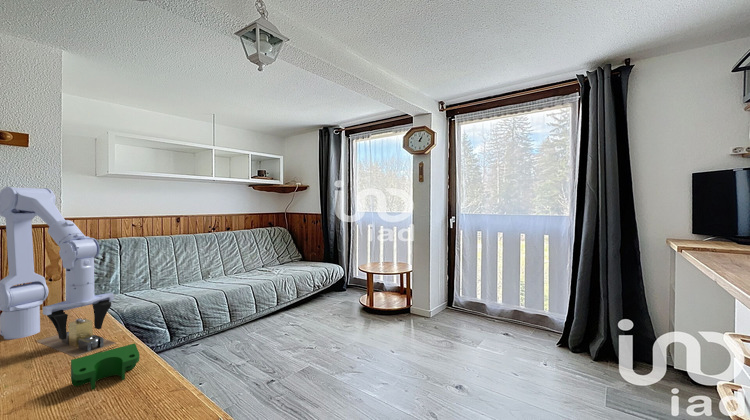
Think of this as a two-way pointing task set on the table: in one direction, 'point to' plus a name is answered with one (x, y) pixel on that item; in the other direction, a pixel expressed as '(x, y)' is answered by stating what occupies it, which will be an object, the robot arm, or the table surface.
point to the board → (69, 346)
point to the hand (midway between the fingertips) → (81, 333)
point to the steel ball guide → (87, 342)
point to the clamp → (104, 365)
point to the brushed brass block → (79, 330)
